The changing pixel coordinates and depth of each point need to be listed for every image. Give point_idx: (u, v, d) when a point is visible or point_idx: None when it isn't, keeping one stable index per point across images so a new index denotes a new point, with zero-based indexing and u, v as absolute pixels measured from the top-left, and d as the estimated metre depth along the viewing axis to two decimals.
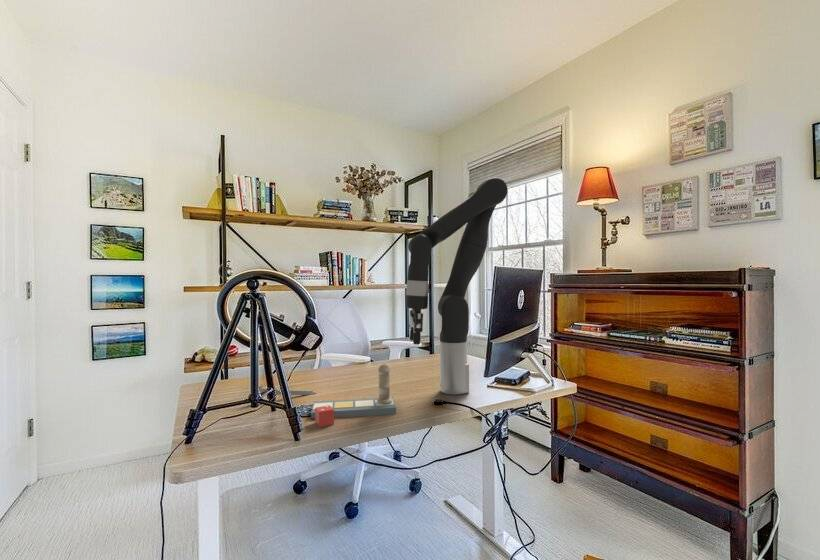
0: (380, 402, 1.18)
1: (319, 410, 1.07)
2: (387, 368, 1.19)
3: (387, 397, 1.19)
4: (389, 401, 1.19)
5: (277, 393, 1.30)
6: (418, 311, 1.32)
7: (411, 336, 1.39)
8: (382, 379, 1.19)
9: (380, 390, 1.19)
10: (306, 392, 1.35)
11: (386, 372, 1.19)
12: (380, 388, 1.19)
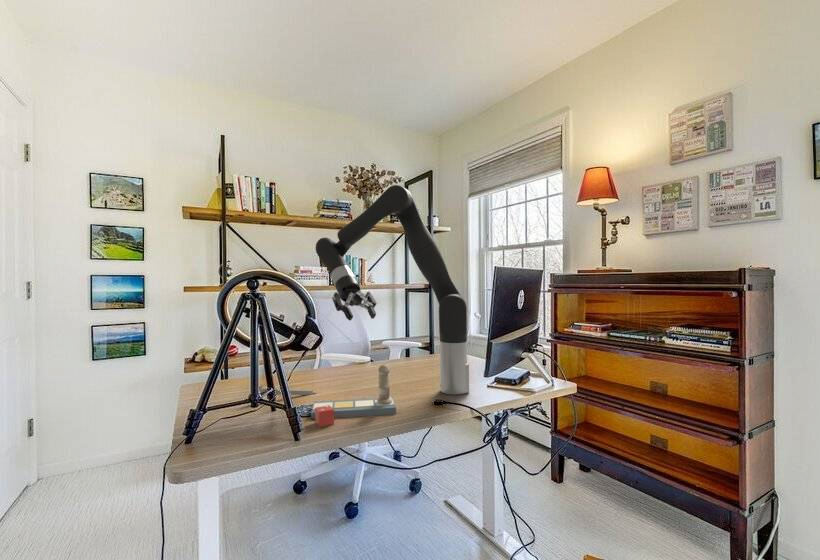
0: (380, 402, 1.18)
1: (319, 410, 1.07)
2: (387, 368, 1.19)
3: (387, 397, 1.19)
4: (389, 401, 1.19)
5: (277, 393, 1.30)
6: (341, 293, 1.33)
7: (370, 315, 1.33)
8: (382, 379, 1.19)
9: (380, 390, 1.19)
10: (306, 392, 1.35)
11: (386, 372, 1.19)
12: (380, 388, 1.19)
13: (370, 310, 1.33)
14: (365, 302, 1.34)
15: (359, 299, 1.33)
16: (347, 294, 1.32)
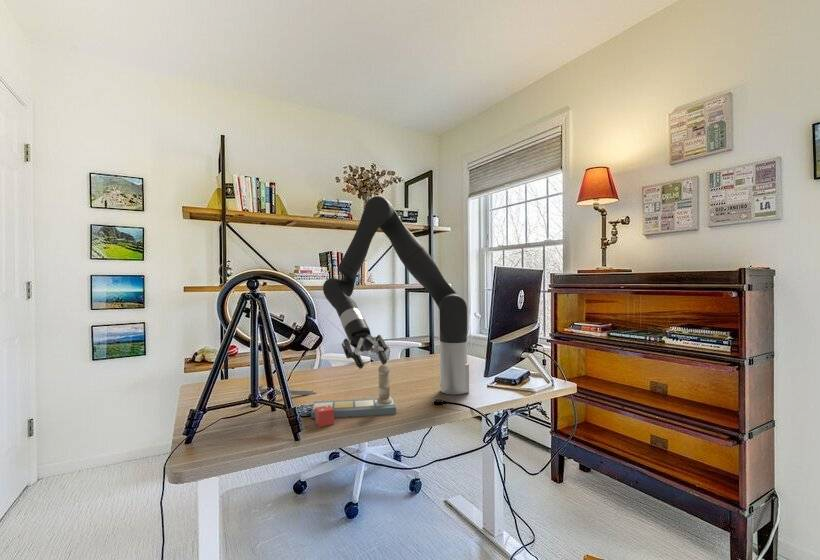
0: (380, 402, 1.18)
1: (319, 410, 1.07)
2: (387, 368, 1.19)
3: (387, 397, 1.19)
4: (389, 401, 1.19)
5: (277, 393, 1.30)
6: (350, 338, 1.28)
7: (381, 360, 1.28)
8: (382, 379, 1.19)
9: (380, 390, 1.19)
10: (306, 392, 1.35)
11: (386, 372, 1.19)
12: (380, 388, 1.19)
13: (381, 356, 1.28)
14: (376, 347, 1.29)
15: (369, 344, 1.29)
16: (357, 339, 1.28)
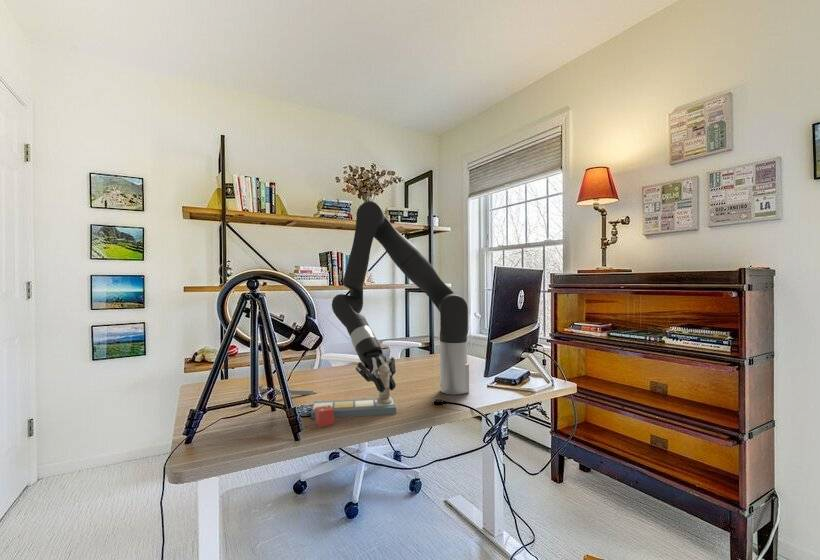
0: (380, 402, 1.18)
1: (319, 410, 1.07)
2: (387, 368, 1.19)
3: (387, 397, 1.19)
4: (389, 401, 1.19)
5: (277, 393, 1.30)
6: (362, 358, 1.23)
7: None
8: (382, 379, 1.19)
9: None
10: (306, 392, 1.35)
11: (386, 372, 1.19)
12: None
13: (389, 380, 1.21)
14: None
15: (379, 364, 1.23)
16: (369, 361, 1.22)
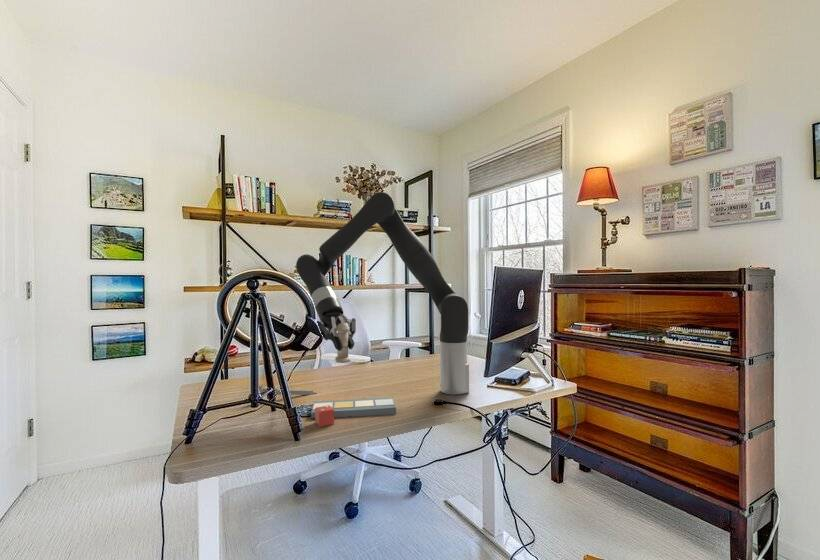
0: (338, 361, 1.16)
1: (319, 410, 1.07)
2: (345, 326, 1.17)
3: (345, 356, 1.17)
4: (347, 360, 1.17)
5: (277, 393, 1.30)
6: (321, 318, 1.21)
7: (348, 345, 1.19)
8: (340, 337, 1.17)
9: None
10: (306, 392, 1.35)
11: (344, 330, 1.17)
12: None
13: (348, 340, 1.19)
14: None
15: None
16: (328, 320, 1.20)
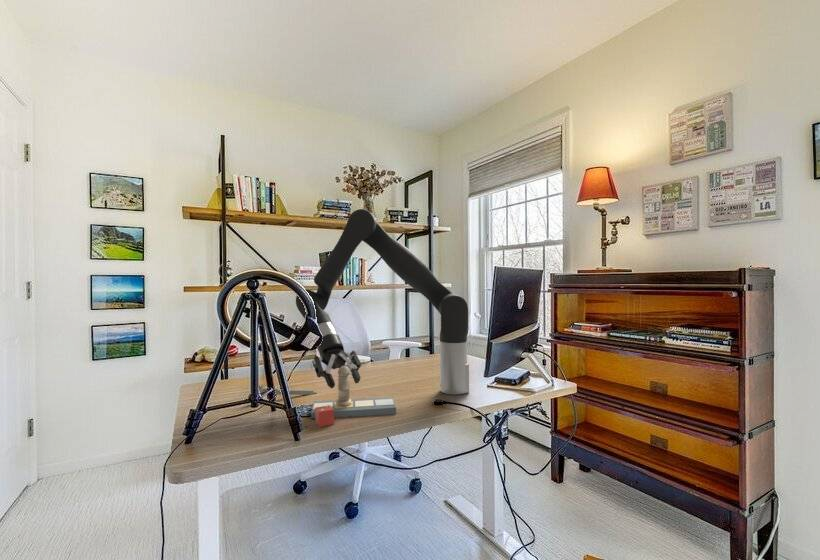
0: (339, 404, 1.17)
1: (319, 410, 1.07)
2: (347, 370, 1.18)
3: (346, 399, 1.17)
4: (348, 403, 1.17)
5: (278, 393, 1.30)
6: (322, 355, 1.21)
7: (354, 379, 1.21)
8: (341, 380, 1.17)
9: (339, 392, 1.17)
10: (307, 392, 1.35)
11: (345, 374, 1.17)
12: (339, 390, 1.17)
13: (354, 374, 1.21)
14: (348, 364, 1.22)
15: (342, 361, 1.21)
16: (329, 356, 1.21)
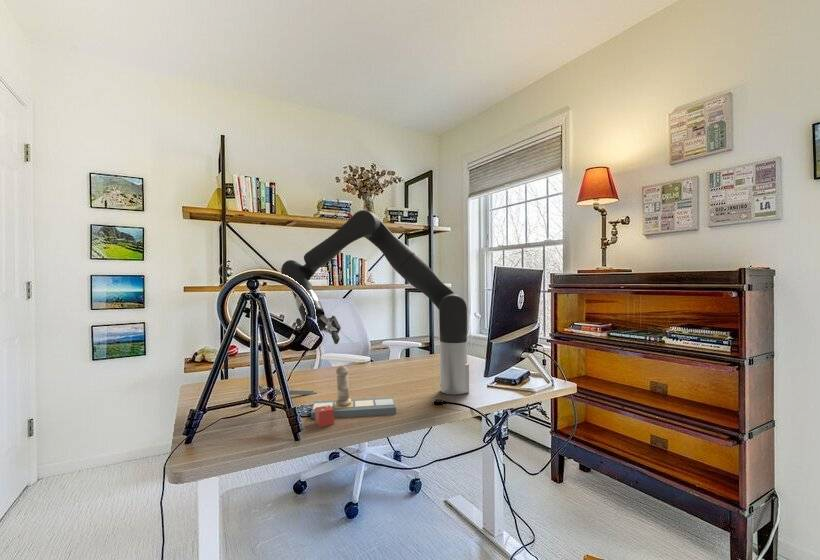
0: (339, 404, 1.17)
1: (319, 410, 1.07)
2: (345, 369, 1.18)
3: (346, 399, 1.17)
4: (348, 403, 1.17)
5: (278, 393, 1.30)
6: (304, 319, 1.31)
7: (334, 340, 1.31)
8: (340, 380, 1.17)
9: (338, 392, 1.17)
10: (307, 392, 1.35)
11: (344, 373, 1.17)
12: (338, 390, 1.17)
13: (333, 335, 1.31)
14: (329, 327, 1.32)
15: (322, 324, 1.32)
16: None
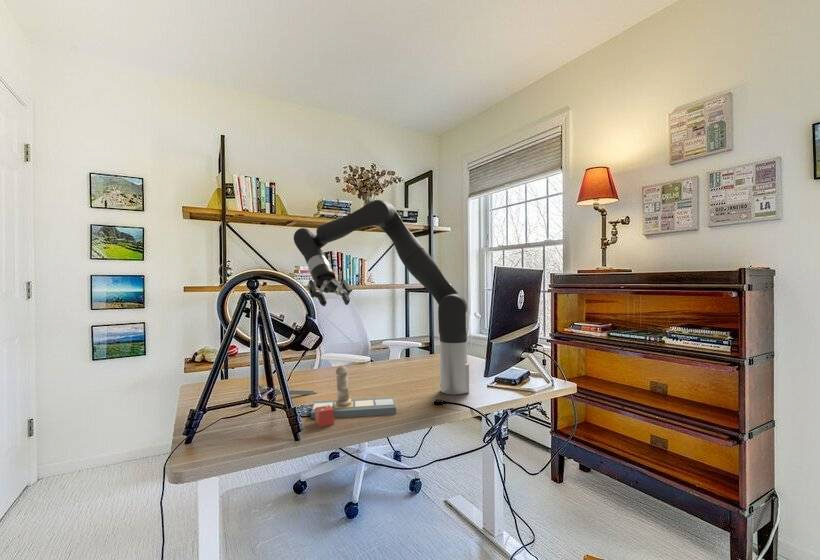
0: (338, 404, 1.17)
1: (319, 410, 1.07)
2: (344, 370, 1.17)
3: (345, 399, 1.17)
4: (347, 403, 1.17)
5: (278, 393, 1.30)
6: (316, 281, 1.38)
7: (344, 301, 1.38)
8: (339, 380, 1.17)
9: (338, 392, 1.17)
10: (307, 392, 1.35)
11: (343, 374, 1.17)
12: (338, 390, 1.17)
13: (344, 297, 1.38)
14: (339, 289, 1.39)
15: (334, 286, 1.39)
16: (322, 281, 1.38)
